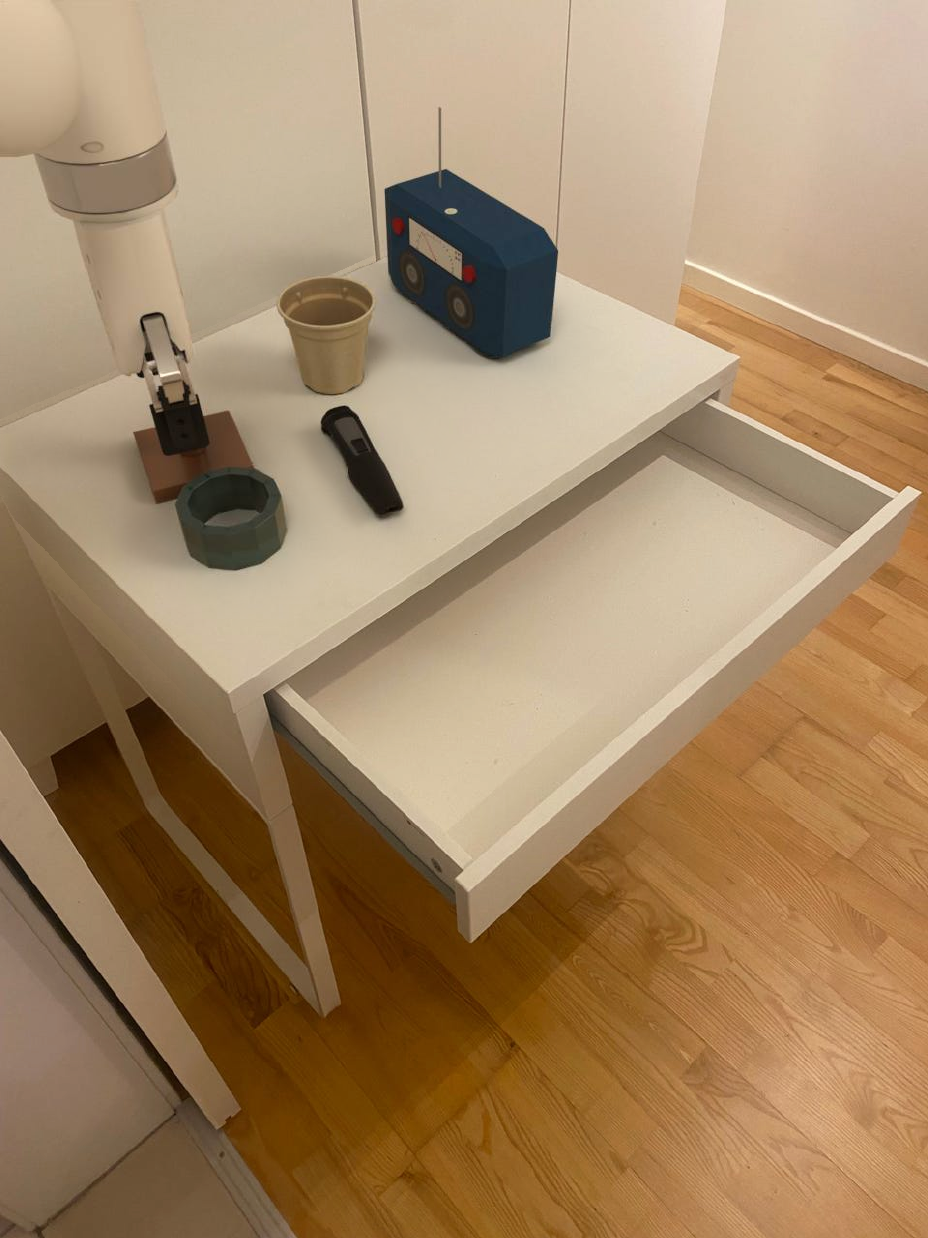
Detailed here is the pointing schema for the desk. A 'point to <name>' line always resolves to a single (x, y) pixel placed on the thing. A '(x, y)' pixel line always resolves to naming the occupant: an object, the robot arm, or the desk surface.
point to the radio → (471, 261)
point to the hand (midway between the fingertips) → (172, 409)
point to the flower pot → (328, 330)
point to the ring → (237, 541)
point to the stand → (191, 456)
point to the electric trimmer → (362, 460)
